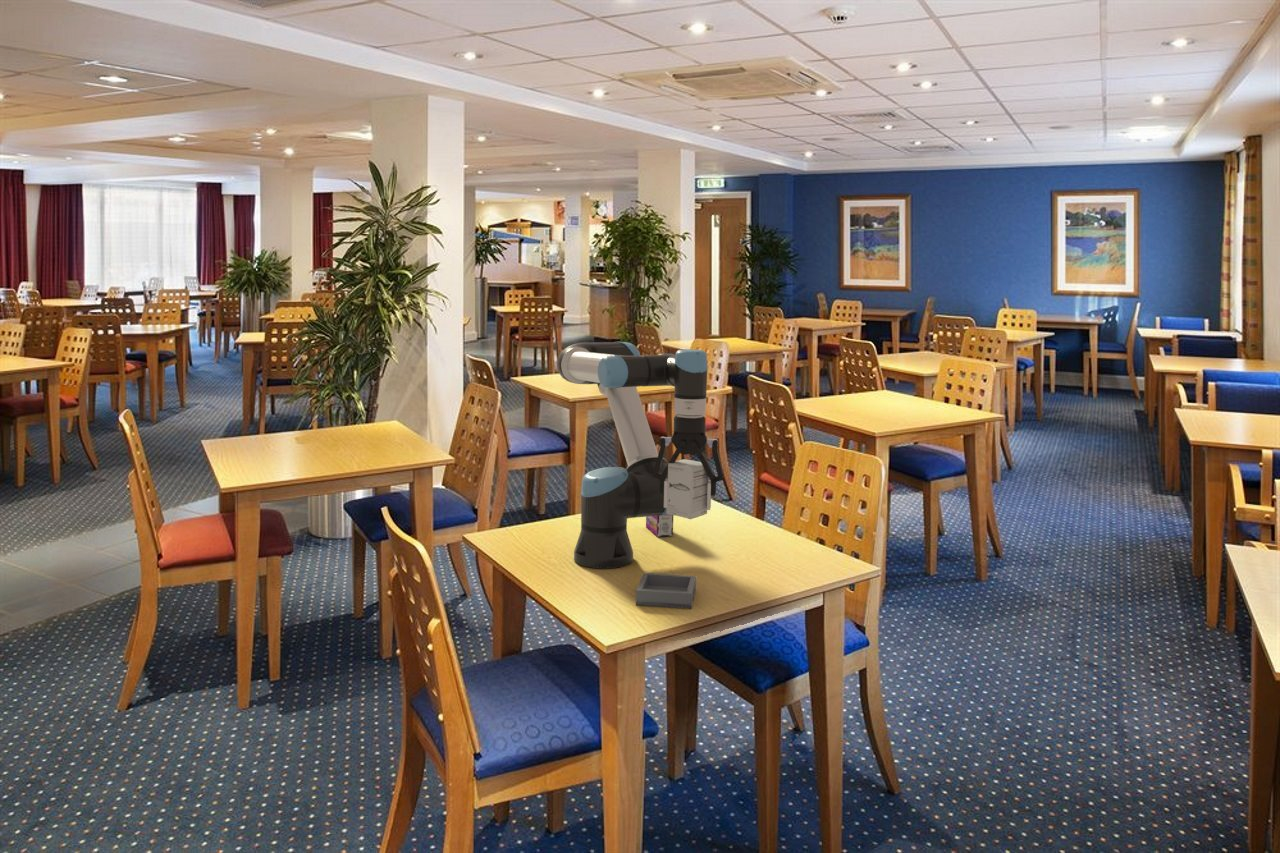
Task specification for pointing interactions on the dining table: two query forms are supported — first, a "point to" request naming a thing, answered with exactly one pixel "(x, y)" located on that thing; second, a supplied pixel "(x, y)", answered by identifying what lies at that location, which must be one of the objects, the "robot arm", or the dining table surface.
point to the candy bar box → (660, 525)
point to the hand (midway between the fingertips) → (687, 507)
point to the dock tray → (666, 590)
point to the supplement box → (687, 489)
